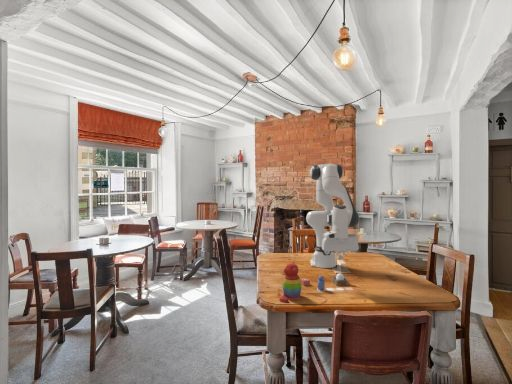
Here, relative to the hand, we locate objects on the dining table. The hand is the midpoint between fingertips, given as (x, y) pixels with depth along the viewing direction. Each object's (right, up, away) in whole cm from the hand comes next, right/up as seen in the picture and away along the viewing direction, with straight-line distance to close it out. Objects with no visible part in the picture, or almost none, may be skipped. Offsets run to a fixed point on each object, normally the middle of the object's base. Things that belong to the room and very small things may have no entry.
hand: (340, 258), depth 165 cm
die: (-20, -15, -1) cm, 25 cm away
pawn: (-13, -14, -9) cm, 21 cm away
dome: (0, -13, +1) cm, 13 cm away
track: (-5, -16, -9) cm, 19 cm away
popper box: (0, -15, +1) cm, 15 cm away
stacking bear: (-30, -16, -19) cm, 39 cm away
